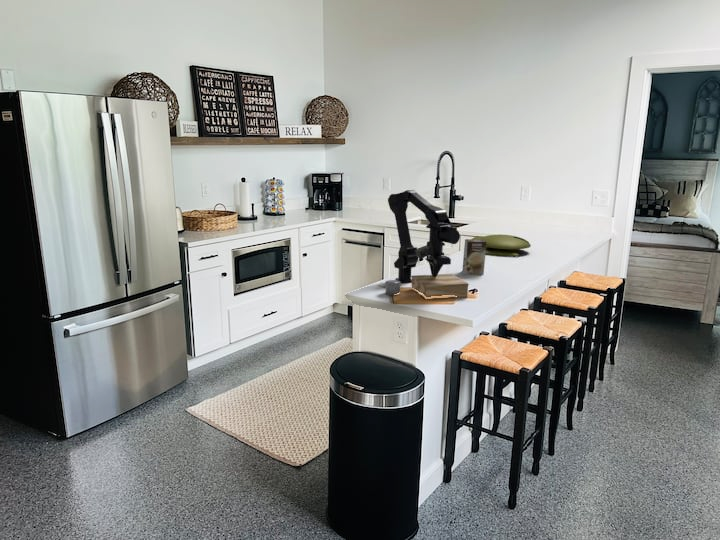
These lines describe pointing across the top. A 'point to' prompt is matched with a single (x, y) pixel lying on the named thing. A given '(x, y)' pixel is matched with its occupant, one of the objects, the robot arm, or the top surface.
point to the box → (441, 290)
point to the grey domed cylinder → (392, 287)
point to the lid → (439, 280)
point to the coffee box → (474, 257)
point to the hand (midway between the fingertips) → (434, 276)
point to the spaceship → (503, 244)
